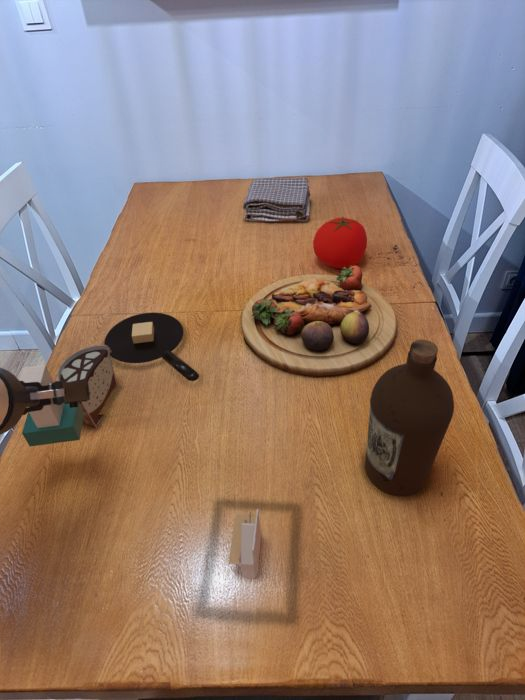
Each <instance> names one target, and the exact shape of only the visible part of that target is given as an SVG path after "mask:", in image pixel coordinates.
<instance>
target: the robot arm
mask: <svg viewBox="0 0 525 700" xmlns="http://www.w3.org/2000/svg"><path fill="white" fill-rule="evenodd" d="M87 400H90V393H89V384H88V381H81V382H60V381H57V380H55V381H53V383H52V384H48V385H45V386H42V385H41V384H40V383H39V382H28V383H25V382H23V381H19V378H18V377H17V376H16V375H15V374H13V373H12V372H10V371H9V370H8V369H5V368H3V367H0V436H1V435H3V434H5V433H7V432H9V431H10V430H12V429H13V428H14V427H15V426H16V425H17V424H18V423H19V421H20V420H21V419H22V417H23V416H24V415H26V416H27V414H28V412H32V411H39V410H42V409H43V406H45V405H53V404H56V405H62V404H63V403H65V404H69V405H70V408H73V407H78V402H84V401H87ZM26 407H29V408H26Z"/></svg>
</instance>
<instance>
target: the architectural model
mask: <svg viewBox="0 0 525 700" xmlns="http://www.w3.org/2000/svg"><path fill="white" fill-rule="evenodd" d="M259 512H260V511H259V508H256V511H255V514H251V513H252V512H251V511H249V514H245V513H243V514H242V513H235V514H234V515H235V516H234V522H233V529H232V536H231V542H230V550H229V557H228V564H229V565H240V571H241V576H242V579H243V578H246V579H256V578H257V577H258V572H259V563H260V561H259V560H260V551H261V542H262V541H261V539H262V532H261V522H260V513H259Z"/></svg>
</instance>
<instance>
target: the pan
mask: <svg viewBox="0 0 525 700" xmlns="http://www.w3.org/2000/svg"><path fill="white" fill-rule="evenodd" d="M145 322H153V326H154V341H151V342H143V343H135V344H134V343H133V339H132V327H133V324H137V323H145ZM183 338H184V327H183V325H182V322H180V321H179V320H178V319H177V318H176V317H174V316H172V315H170V314H167V313H162V312H143V313H138V314H134V315H131V316H129V317H126V318H125V319H124V318H123V319H122V320H120V321H119V322H118V323H116V324H115V325H114V326H113V327H111V328H110V330H108V332H107V334H106V336H105V338H104V342H103V345H107V346H108V347H109V348H110V350H111V353H110V357H111V359H114V360H116V361H118V362H122V363H127V364H143V363H149V362H154V361H156V360H159V359H163V361H164V362H166V363H167V364H168V365H170V367H172V368H173V369H174V370H175V371H177V372H178V373H179V374H180V375H181V376H182V377H184V378H185V379H186V380H187V381H189V382H195V381H197V380H198V379H199V378H200V374H199V373H198V372H197V371H196V370H195V369H194V368H192V367H191V366H190V365H189V364H188V363H186V362H185V361H184V360H183V359H182V358H180V357H179V356H178V355H176V354H175V353H174V352H173V351H174V350H175V349H176V348H177V347H178V346H179V345H180V343H181V342H182V340H183Z"/></svg>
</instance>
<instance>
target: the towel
mask: <svg viewBox="0 0 525 700" xmlns="http://www.w3.org/2000/svg"><path fill="white" fill-rule="evenodd" d="M247 189H248V190H247V194H245V195H246V196H245V198H244V201H243V204H242V209H243V210H244V216H243V219H244V221H248V222H253V223H255V222H256V223H267V222H269V223H276V222H280V223H282V222H296V223H297V222H298V223H299V222H300V223H306V222H308V220H309V218H310V210H311V205H310V202H311V201H310V198H311V192H310V186H309V179H308V178H307V177H291V178H289V177H285V178H284V177H259V178H255V179H254V180H253V181H251V183H250V184H249V186H248V188H247Z"/></svg>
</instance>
